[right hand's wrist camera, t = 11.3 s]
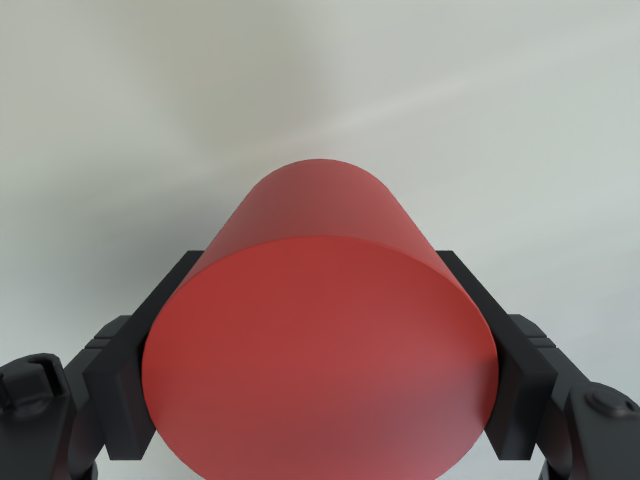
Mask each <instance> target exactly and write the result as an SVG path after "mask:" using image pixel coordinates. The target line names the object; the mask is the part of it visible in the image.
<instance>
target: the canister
mask: <svg viewBox="0 0 640 480" xmlns="http://www.w3.org/2000/svg"><path fill="white" fill-rule="evenodd" d="M141 383H142V389H143V395H144V400H145V403H146V406H147V409H148V412H149V416H150V418H151V420H152V422H153V424H154V426H155V427H156V429H157V431H158V433H159V434H160V436H161V437H162V439H163V440H164V441H165V443H166V444H167V446H168V447H169V448H170V449H171V450H172V451H173V452H174V454H175V455H176V456H177V457H178V458H179V459H180V460H181V461H182V462H183V463H185V464H186V465H187V466H188V467H189V468H190V469H192V470H193V471H194V472H195V473H197V474H198V475H200V476H201V477H203V478H204V479H206V480H435V479H436V478H438V477H439V476H441V475H442V474H444V473H445V472H446V471H447V470H449V469H450V468H451V467H452V466H453V465H455V464H456V463H457V462H458V461H459V460H460V459H461V458H462V457H463V456H464V455H465V454H466V453H467V452H468V451H469V450H470V449H471V447H472V446H473V445H474V443H475V442H476V440H477V439H478V438H479V436H480V435H481V434H482V432H483V430H484V428H485V426H486V424H487V422H488V420H489V418H490V416H491V413H492V410H493V407H494V404H495V402H496V397H497V391H498V385H499V362H498V356H497V351H496V345H495V342H494V339H493V337H492V334H491V331H490V328H489V326H488V324H487V322H486V320H485V319H484V317H483V315H482V314H481V312H480V310H479V308H478V307H477V306H476V304H475V303H474V302H473V300H472V299H471V298H470V296H469V295H468V294H467V292H466V291H465V290H464V288H463V287H462V286H461V284H460V283H459V282H458V280H457V279H456V278H455V276H454V275H453V274H452V272H451V271H450V270H449V269H448V267H447V266H446V265H445V263H444V262H443V261H442V259H441V258H440V257H439V255H438V254H437V253H436V251H435V250H434V249H433V247H432V246H431V245H430V243H429V242H428V241H427V239H426V238H425V237H424V235H423V234H422V233H421V231H420V230H419V229H418V228H417V226H416V225H415V224H414V222H413V221H412V220H411V218H410V217H409V216H408V214H407V213H406V212H405V210H404V209H403V208H402V206H401V205H400V204H399V202H398V201H397V200H396V198H395V197H394V196H393V195H392V193H391V192H390V191H389V190H388V188H387V187H386V186H385V185H384V184H383V183H382V182H380V181H379V180H378V179H377V178H376V177H374V176H373V175H371V174H370V173H369V172H367V171H365V170H363V169H361V168H359V167H357V166H354V165H351V164H348V163H346V162H341V161H336V160H328V159H312V160H304V161H299V162H295V163H292V164H289V165H286V166H283V167H281V168H279V169H277V170H275V171H273V172H272V173H270V174H269V175H267V176H266V177H264V178H263V179H262V180H261V181H260V182H259V183H258V184H256V185H255V186H254V187H253V189H252V190H251V191H250V192H249V194H248V195H247V196H246V197H245V199H244V200H243V201H242V203H241V204H240V205H239V207H238V208H237V209H236V211H235V212H234V213H233V215H232V216H231V217H230V218H229V220H228V221H227V222H226V224H225V225H224V226H223V228H222V229H221V230H220V232H219V233H218V234H217V236H216V237H215V238H214V240H213V241H212V242H211V244H210V245H209V246H208V248H207V249H206V250H205V252H204V253H203V254H202V256H201V257H200V258H199V259H198V261H197V262H196V263H195V265H194V266H193V267H192V269H191V270H190V271H189V273H188V274H187V275H186V277H185V278H184V279H183V281H182V282H181V283H180V285H179V286H178V287H177V289H176V290H175V291H174V293H173V294H172V295H171V297H170V298H169V299H168V300H167V302H166V303H165V304H164V306H163V307H162V309H161V311H160V312H159V314H158V316H157V317H156V319H155V321H154V322H153V324H152V327H151V329H150V332H149V335H148V337H147V340H146V342H145V347H144V352H143V357H142V369H141Z"/></svg>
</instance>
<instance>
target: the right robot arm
mask: <svg viewBox="0 0 640 480" xmlns="http://www.w3.org/2000/svg"><path fill="white" fill-rule="evenodd" d="M204 252H205V251H187V252H186V254H185V255H184V256H183V257H182V258H181V259H180V260H179V262H178V263H177V264H176V265H175V266H174V267H173V269H172V270H171V271H170V272H169V273H168V274H167V275H166V277H165V278H164V279H163V280H162V281H161V282H160V283H159V285H158V286H157V287H156V288H155V289H154V290H153V292H152V293H151V294H150V295H149V296H148V297H147V298H146V300H145V301H144V302H143V303H142V304H141V305H140V307H139V308H138V309H137V310H136V311H135V312H134V313H133V315H121V316H119V317H118V318H116V319H114V320H113V321H111V322H110V323H108V324H106V325H105V326H104V327H103V328H102V329H101V330H100V331H99V332H98V333H97V334H96V335H95V336H94V339H92V340H91V341H90V342H89V343H88V344H87V345H86V346H85V349H82V350H81V351H80V352H79V353H78V354H77V355H76V356H75V357H74V359H73V360H72V361H71V362H70V363H69V364H68V365H67V366H66V367H65V368H64V369H63V367H62V364H61V362H60V359H59V357H57V356H56V355H54V354H48V353H40V354H33V355H28V356H25V357H22V358H19V359H16V360H14V361H12V362H10V363H8V364H6V365H4V366H2V367H0V480H97V478H98V470H97V465H96V462H95V459H96V457H97V455H98V454H99V452H100V451H101V449H102V447H103V446H104V444H105V446H106V449H107V452H108V455H109V458H110V460H141V459H142V457H143V455H144V453H145V451H146V449H147V447H148V445H149V443H150V441H151V439H152V437H153V435H154V433H155V431H156V427H155V426H154V424H153V422H152V420H151V418H150V416H149V412H148V409H147V406H146V403H145V400H144V395H143V389H142V383H141V369H142V357H143V352H144V347H145V342H146V340H147V337H148V335H149V332H150V329H151V327H152V324H153V322H154V321H155V319H156V317H157V316H158V314H159V312H160V311H161V309H162V307H163V306H164V304H165V303H166V302H167V300H168V299H169V298H170V297H171V295H172V294H173V293H174V291H175V290H176V289H177V287H178V286H179V285H180V283H181V282H182V281H183V279H184V278H185V277H186V275H187V274H188V273H189V271H190V270H191V269H192V267H193V266H194V265H195V263H196V262H197V261H198V259H199V258H200V257H201V256H202V254H203V253H204ZM436 253H437V254H438V255H439V257H440V258H441V259H442V261H443V262H444V263H445V265H446V266H447V267H448V269H449V270H450V271H451V272H452V274H453V275H454V276H455V278H456V279H457V280H458V282H459V283H460V284H461V286H462V287H463V288H464V290H465V291H466V292H467V294H468V295H469V296H470V298H471V299H472V300H473V302H474V303H475V304H476V306H477V307H478V308H479V310H480V312H481V314H482V315H483V317H484V319H485V320H486V322H487V324H488V326H489V328H490V331H491V334H492V337H493V339H494V342H495V345H496V351H497V356H498V362H499V385H498V391H497V397H496V402H495V404H494V407H493V410H492V413H491V416H490V418H489V420H488V422H487V424H486V426H485V428H484V430H485V432H486V435H487V437H488V439H489V441H490V443H491V445H492V447H493V449H494V451H495V453H496V455H497V457H498V459H499V460H530V459H531V456H532V453H533V450H534V447H535V444H536V443H537V445H538V447H539V448H540V450H541V451H542V453H543V455H544V456H545V458H546V459H545V462H544V465H543V467H542V470H541V473H540V476H539V479H538V480H640V407H639V406H638V405H637V404H636V403H635V402H634V401H632V400H631V399H630V398H629V397H628V396H626V395H624V394H623V393H621V392H619V391H617V390H616V389H614V388H611V387H609V386H606V385H603V384H600V383H596V382H590V381H589V380H588V379H587V377H586V376H585V375H584V374H583V373H582V372H581V371H580V370H579V369H578V368H577V367H576V366H575V365H574V364H573V363H572V362H571V361H570V360H569V359H568V358H567V357H566V355H565V354H564V353H563V352H562V351H561V350H560V349H559V348H556V345H555V344H554V343H553V342H552V341H551V340H550V339H549V338H547V336H546V335H545V334H544V332H543V331H542V330H541V329H540V328H539V327H538V326H537V325H536V324H534V323H533V322H531V321H530V320H528V319H526V318H525V317H523V316H521V315H520V314H507V313H506V312H505V311H504V310H503V309H502V307H501V306H500V305H499V304H498V303H497V302H496V300H495V299H494V298H493V297H492V296H491V295H490V294H489V292H488V291H487V290H486V289H485V288H484V287H483V286H482V284H481V283H480V282H479V281H478V280H477V279H476V277H475V276H474V275H473V274H472V273H471V272H470V271H469V269H468V268H467V267H466V266H465V265H464V264H463V262H462V261H461V260H460V259H459V258H458V257H457V256H456V254H455V253H454V252H453V251H436Z"/></svg>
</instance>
